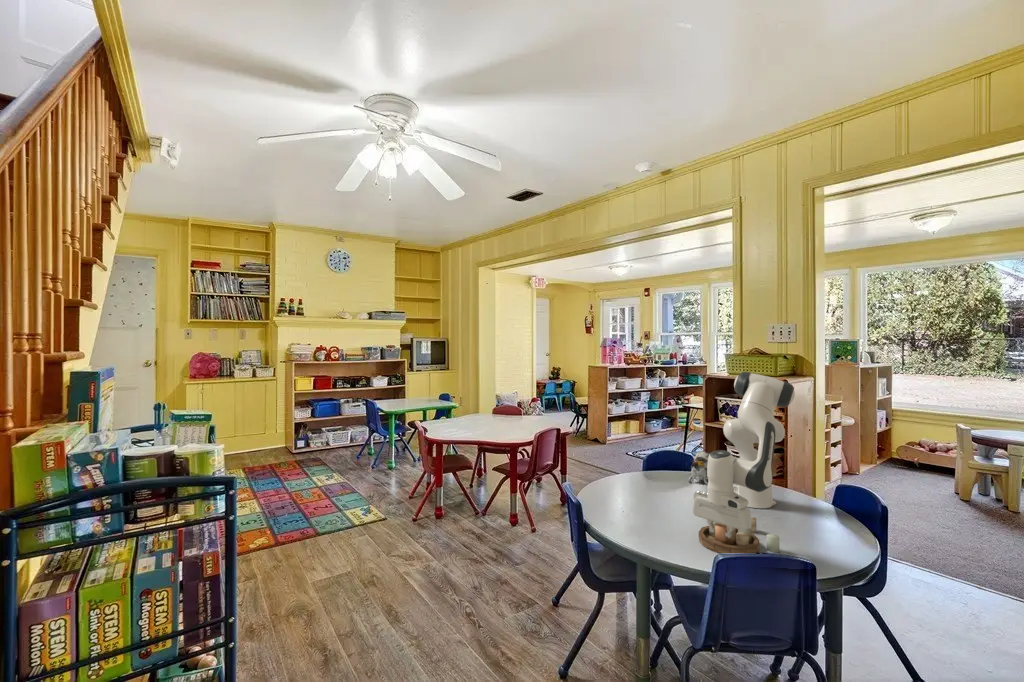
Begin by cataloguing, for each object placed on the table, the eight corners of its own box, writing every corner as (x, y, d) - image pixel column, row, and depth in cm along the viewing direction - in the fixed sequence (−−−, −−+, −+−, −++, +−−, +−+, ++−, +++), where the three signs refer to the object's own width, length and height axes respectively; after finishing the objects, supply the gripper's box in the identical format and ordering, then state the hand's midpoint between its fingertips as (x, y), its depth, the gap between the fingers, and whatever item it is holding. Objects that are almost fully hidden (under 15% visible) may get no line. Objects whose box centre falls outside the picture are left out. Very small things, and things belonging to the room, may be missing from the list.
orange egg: (712, 538, 167) (712, 525, 168) (718, 535, 170) (718, 522, 170) (723, 542, 164) (723, 528, 164) (729, 539, 167) (729, 525, 167)
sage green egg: (764, 547, 168) (764, 533, 168) (776, 548, 167) (776, 534, 167) (769, 552, 164) (769, 538, 164) (781, 553, 163) (781, 539, 163)
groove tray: (692, 531, 182) (692, 517, 182) (745, 533, 180) (745, 519, 180) (708, 555, 162) (708, 539, 162) (768, 557, 160) (768, 541, 160)
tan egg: (743, 528, 185) (743, 516, 185) (753, 529, 184) (753, 516, 184) (747, 532, 181) (747, 520, 181) (758, 533, 180) (758, 520, 180)
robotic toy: (718, 479, 250) (718, 451, 250) (706, 487, 237) (706, 457, 237) (695, 474, 259) (694, 448, 259) (682, 481, 246) (681, 453, 246)
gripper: (689, 491, 173) (689, 528, 173) (744, 506, 157) (745, 546, 157) (698, 488, 177) (698, 524, 177) (753, 501, 161) (753, 541, 161)
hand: (720, 534), depth 167 cm, fingers closed on orange egg, 4 cm apart
